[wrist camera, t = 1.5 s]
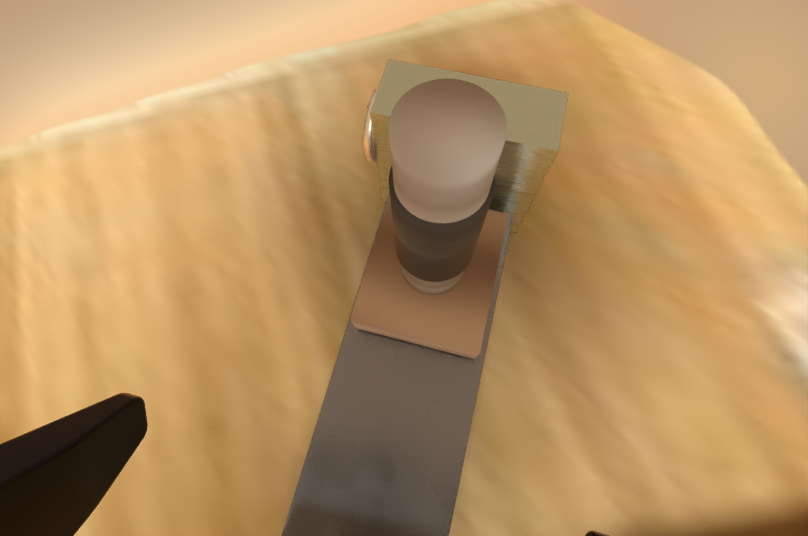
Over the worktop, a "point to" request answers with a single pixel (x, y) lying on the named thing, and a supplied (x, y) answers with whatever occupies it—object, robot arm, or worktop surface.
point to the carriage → (437, 221)
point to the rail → (413, 355)
